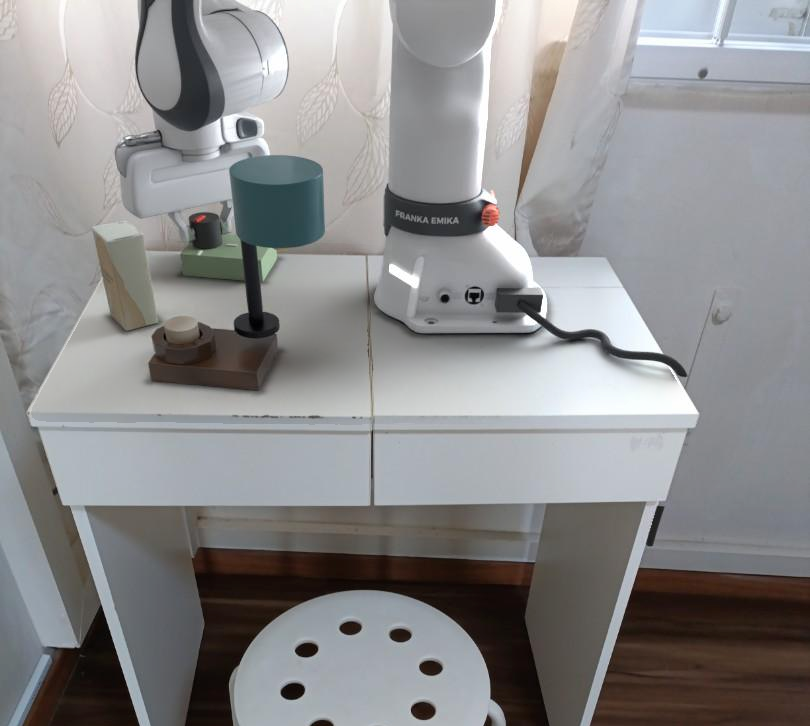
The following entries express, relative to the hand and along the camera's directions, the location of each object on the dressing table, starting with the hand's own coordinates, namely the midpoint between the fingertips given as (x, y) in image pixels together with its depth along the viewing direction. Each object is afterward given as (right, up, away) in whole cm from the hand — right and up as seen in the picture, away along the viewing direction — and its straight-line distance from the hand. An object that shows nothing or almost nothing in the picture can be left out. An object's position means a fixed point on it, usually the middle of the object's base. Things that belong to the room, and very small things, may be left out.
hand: (206, 236), depth 108 cm
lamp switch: (+3, -19, -21) cm, 28 cm away
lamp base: (+6, -21, -18) cm, 28 cm away
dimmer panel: (+3, -3, +2) cm, 5 cm away
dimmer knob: (0, -1, 0) cm, 1 cm away
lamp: (+13, -18, -19) cm, 29 cm away
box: (-6, -14, -10) cm, 19 cm away
